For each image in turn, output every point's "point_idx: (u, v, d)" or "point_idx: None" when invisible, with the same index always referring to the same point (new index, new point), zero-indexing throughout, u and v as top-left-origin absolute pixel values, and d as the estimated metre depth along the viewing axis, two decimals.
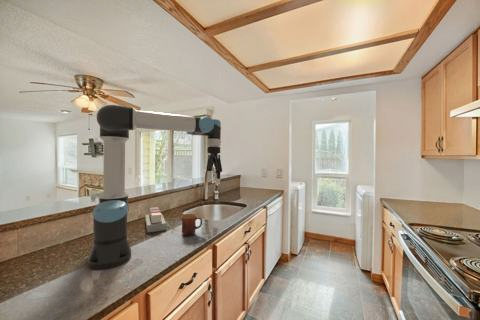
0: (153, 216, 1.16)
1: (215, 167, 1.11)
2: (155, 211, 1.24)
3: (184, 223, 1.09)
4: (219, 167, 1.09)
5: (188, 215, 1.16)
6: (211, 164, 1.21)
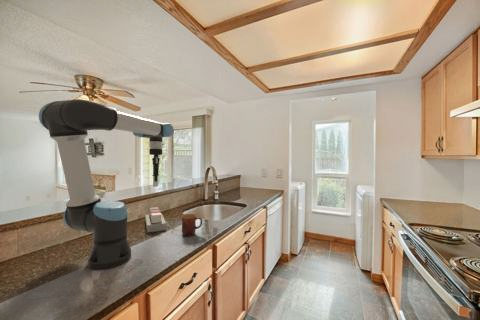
0: (153, 216, 1.16)
1: None
2: (155, 211, 1.24)
3: (184, 223, 1.09)
4: (156, 172, 1.22)
5: (188, 215, 1.16)
6: None
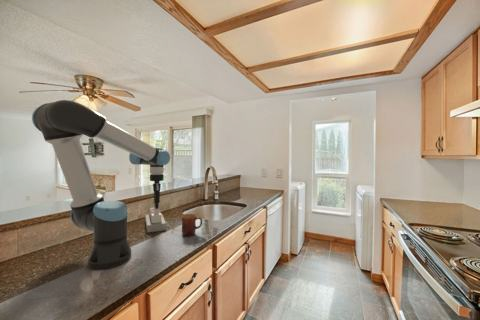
0: (153, 216, 1.16)
1: (154, 197, 1.17)
2: None
3: (184, 223, 1.09)
4: (157, 199, 1.16)
5: (188, 215, 1.16)
6: None
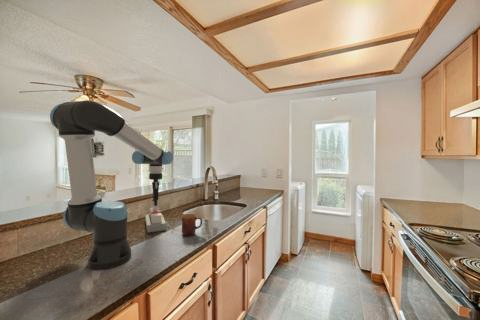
0: (153, 217, 1.16)
1: (153, 195, 1.24)
2: (155, 211, 1.24)
3: (184, 223, 1.09)
4: (155, 197, 1.22)
5: (188, 215, 1.16)
6: None
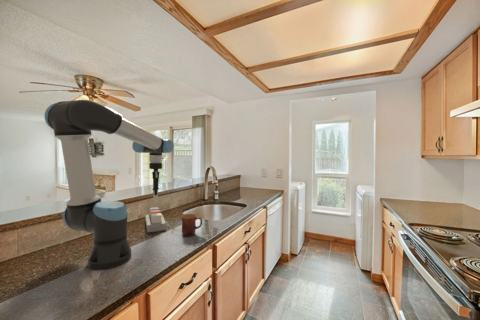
0: (153, 217, 1.16)
1: None
2: (155, 211, 1.24)
3: (184, 223, 1.09)
4: (156, 186, 1.23)
5: (188, 215, 1.16)
6: None
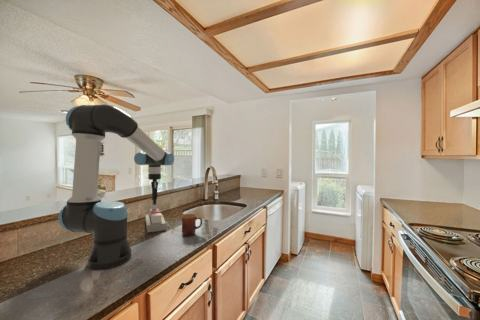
0: (153, 217, 1.16)
1: (152, 194, 1.31)
2: (155, 211, 1.24)
3: (184, 223, 1.09)
4: (154, 196, 1.29)
5: (188, 215, 1.16)
6: None
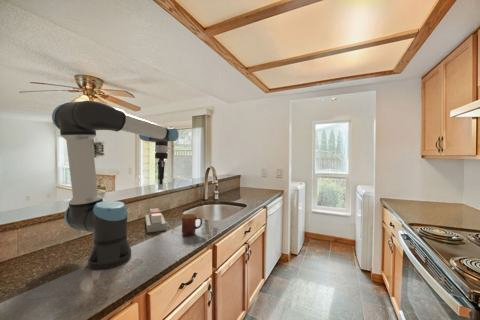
0: (153, 217, 1.16)
1: (159, 174, 1.27)
2: (155, 211, 1.24)
3: (184, 223, 1.09)
4: (161, 175, 1.25)
5: (188, 215, 1.16)
6: None
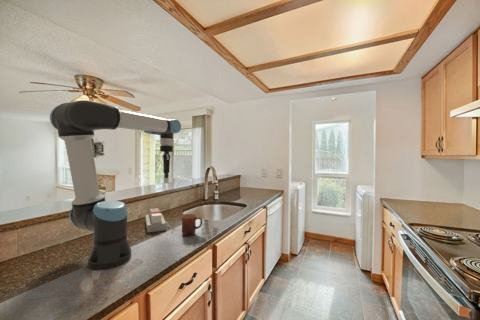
0: (153, 217, 1.16)
1: (164, 167, 1.25)
2: (155, 211, 1.24)
3: (184, 223, 1.09)
4: (167, 168, 1.23)
5: (188, 215, 1.16)
6: None
